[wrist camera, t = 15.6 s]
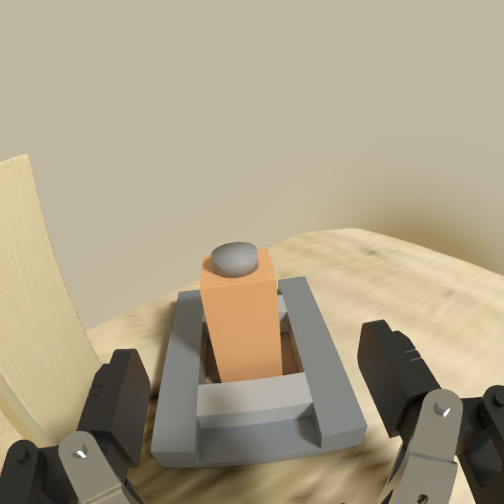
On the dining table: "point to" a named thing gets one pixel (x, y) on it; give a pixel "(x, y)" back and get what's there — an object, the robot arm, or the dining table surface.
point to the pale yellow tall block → (37, 320)
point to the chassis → (254, 394)
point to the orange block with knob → (242, 312)
